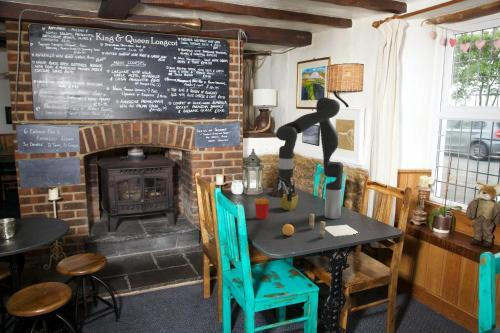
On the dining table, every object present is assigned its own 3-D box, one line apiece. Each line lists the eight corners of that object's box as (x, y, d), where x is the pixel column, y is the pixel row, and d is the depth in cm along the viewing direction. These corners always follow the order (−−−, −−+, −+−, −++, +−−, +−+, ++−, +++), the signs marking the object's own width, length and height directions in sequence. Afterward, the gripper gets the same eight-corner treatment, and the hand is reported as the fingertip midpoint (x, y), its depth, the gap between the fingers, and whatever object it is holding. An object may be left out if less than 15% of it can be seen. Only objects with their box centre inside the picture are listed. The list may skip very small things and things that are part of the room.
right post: (318, 236, 202) (319, 221, 201) (323, 236, 203) (323, 221, 202) (320, 238, 200) (321, 223, 198) (325, 237, 200) (326, 222, 199)
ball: (280, 233, 206) (280, 222, 205) (291, 232, 207) (291, 222, 206) (284, 237, 200) (284, 226, 199) (295, 236, 202) (295, 225, 201)
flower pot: (291, 212, 245) (291, 198, 243) (279, 209, 250) (279, 196, 249) (298, 209, 252) (298, 195, 250) (286, 206, 257) (286, 193, 255)
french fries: (268, 216, 235) (268, 197, 233) (268, 218, 231) (269, 199, 229) (254, 217, 235) (254, 197, 233) (254, 219, 231) (254, 199, 229)
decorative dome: (284, 199, 276) (284, 185, 274) (265, 194, 291) (265, 181, 289) (303, 195, 288) (303, 181, 287) (283, 190, 303) (284, 177, 301)
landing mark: (321, 227, 217) (321, 226, 217) (346, 225, 220) (346, 224, 220) (334, 236, 202) (334, 236, 202) (360, 234, 206) (360, 233, 206)
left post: (308, 228, 215) (308, 214, 214) (312, 227, 216) (313, 213, 214) (310, 229, 213) (310, 215, 211) (314, 229, 213) (315, 215, 212)
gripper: (299, 169, 189) (298, 202, 191) (285, 164, 201) (284, 195, 204) (286, 169, 186) (285, 203, 188) (272, 165, 198) (271, 196, 201)
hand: (284, 199), depth 196 cm, fingers open, 8 cm apart
